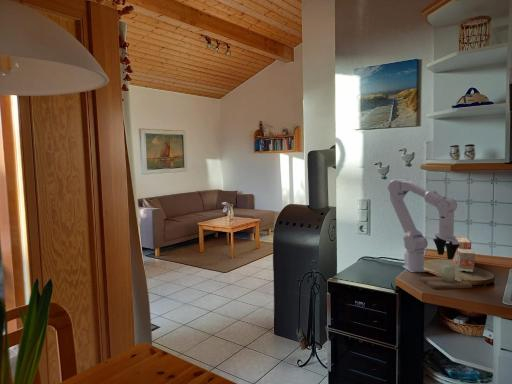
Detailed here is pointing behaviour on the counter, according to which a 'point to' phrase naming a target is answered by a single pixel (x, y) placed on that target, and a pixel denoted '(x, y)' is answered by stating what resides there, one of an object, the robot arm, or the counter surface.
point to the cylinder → (448, 273)
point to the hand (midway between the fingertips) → (445, 256)
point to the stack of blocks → (464, 254)
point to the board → (444, 283)
